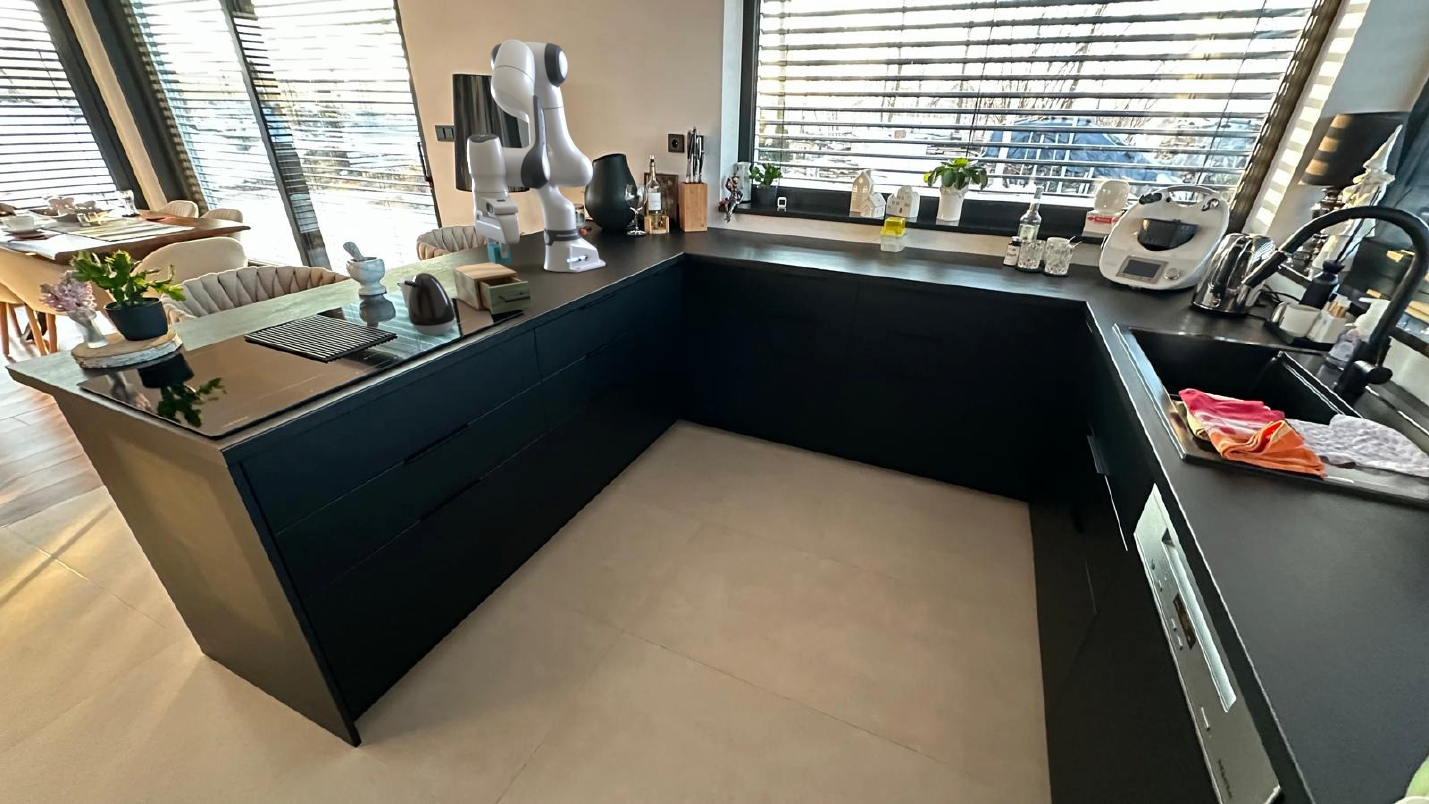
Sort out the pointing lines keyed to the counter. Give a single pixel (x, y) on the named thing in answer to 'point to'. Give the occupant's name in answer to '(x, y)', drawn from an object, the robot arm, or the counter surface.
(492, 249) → the teal cube
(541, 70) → the robot arm
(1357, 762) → the counter surface
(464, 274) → the wooden drawer box
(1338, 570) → the counter surface
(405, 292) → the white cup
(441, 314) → the pump dispenser
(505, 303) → the green drawer
